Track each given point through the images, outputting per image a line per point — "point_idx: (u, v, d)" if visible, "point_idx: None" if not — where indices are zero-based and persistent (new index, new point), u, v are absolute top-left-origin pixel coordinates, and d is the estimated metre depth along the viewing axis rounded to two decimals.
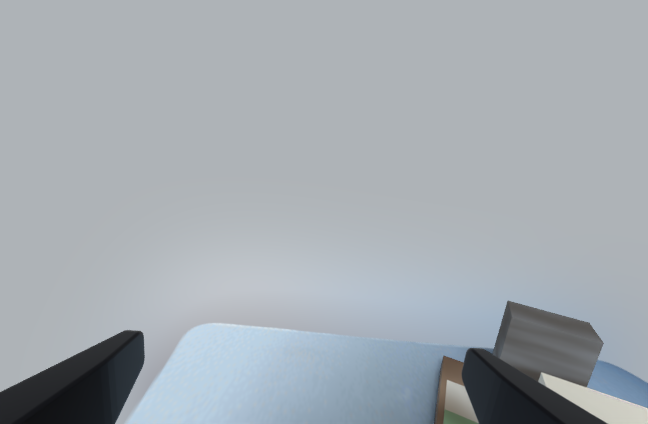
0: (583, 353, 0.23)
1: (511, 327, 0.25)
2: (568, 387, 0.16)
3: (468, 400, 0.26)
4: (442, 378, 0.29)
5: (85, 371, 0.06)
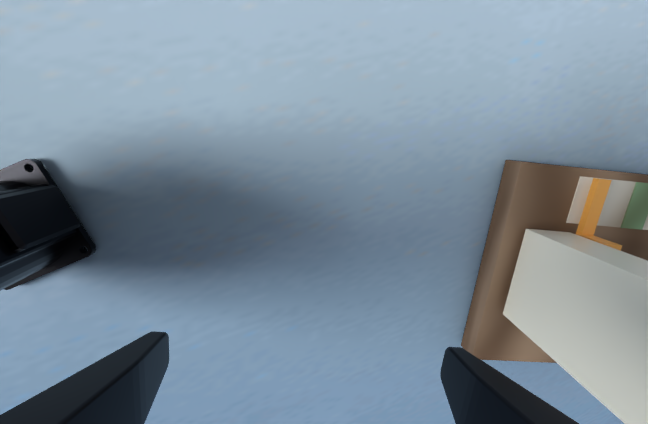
0: None
1: None
2: None
3: None
4: None
5: (119, 372, 0.06)
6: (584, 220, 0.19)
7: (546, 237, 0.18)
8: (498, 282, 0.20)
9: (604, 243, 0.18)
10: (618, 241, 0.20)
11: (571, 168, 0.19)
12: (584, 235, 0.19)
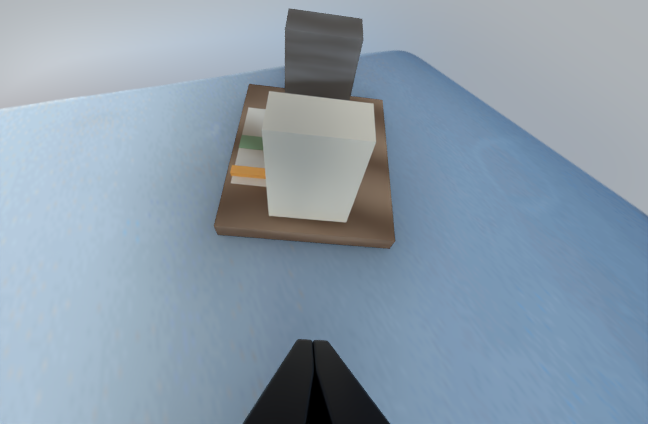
0: (348, 54, 0.25)
1: (287, 42, 0.24)
2: (287, 99, 0.17)
3: None
4: (244, 107, 0.30)
5: (306, 380, 0.06)
6: (263, 176, 0.25)
7: (268, 204, 0.22)
8: (319, 228, 0.24)
9: None
10: None
11: (223, 190, 0.25)
12: None
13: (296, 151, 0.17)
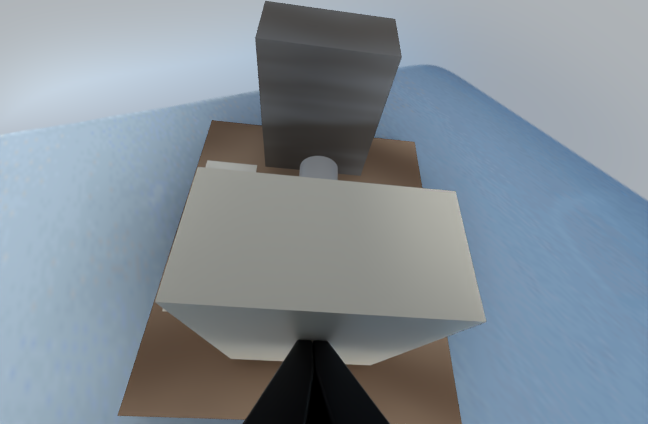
0: (372, 81, 0.14)
1: (261, 61, 0.13)
2: (242, 191, 0.07)
3: None
4: (201, 160, 0.19)
5: (306, 380, 0.06)
6: None
7: (225, 352, 0.12)
8: None
9: None
10: None
11: (147, 327, 0.14)
12: None
13: (266, 324, 0.07)
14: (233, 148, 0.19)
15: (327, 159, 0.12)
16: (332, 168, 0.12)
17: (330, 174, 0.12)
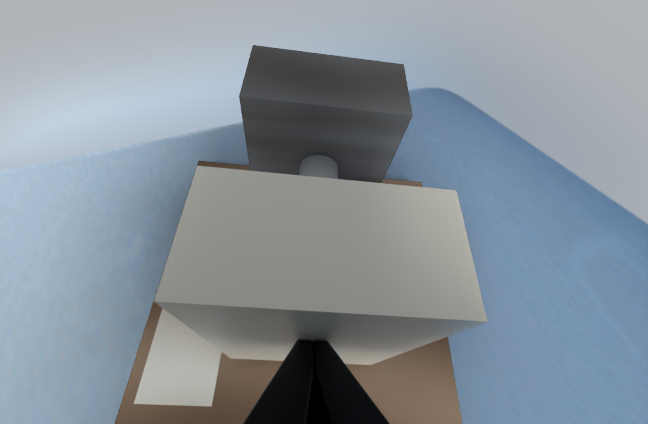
0: (378, 139, 0.12)
1: (248, 119, 0.11)
2: (242, 190, 0.07)
3: None
4: None
5: (306, 380, 0.06)
6: None
7: (225, 352, 0.12)
8: None
9: None
10: None
11: None
12: None
13: (266, 323, 0.07)
14: None
15: (327, 158, 0.12)
16: (332, 167, 0.12)
17: (330, 173, 0.12)
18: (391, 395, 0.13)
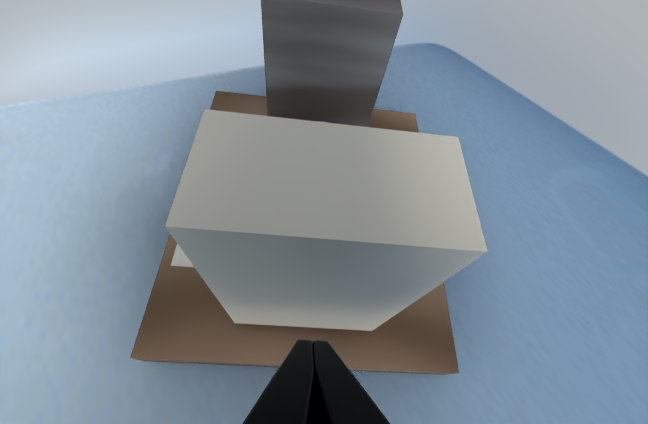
0: (374, 41, 0.14)
1: (266, 20, 0.13)
2: (249, 131, 0.07)
3: None
4: None
5: (306, 380, 0.06)
6: None
7: None
8: None
9: None
10: None
11: (157, 279, 0.14)
12: None
13: (272, 262, 0.07)
14: None
15: None
16: None
17: None
18: None
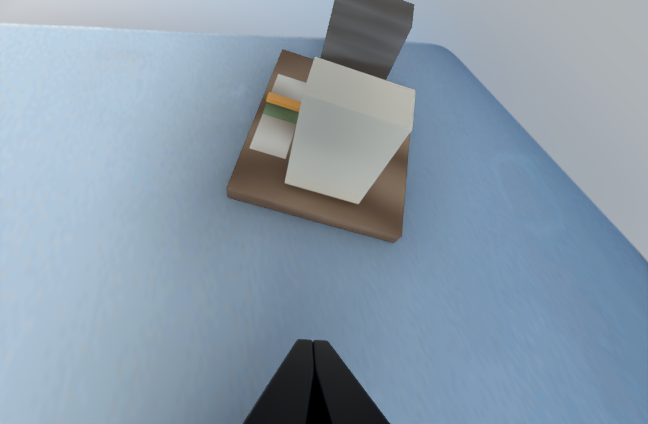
0: (393, 39, 0.24)
1: (334, 13, 0.23)
2: (331, 69, 0.17)
3: (293, 91, 0.28)
4: (274, 72, 0.29)
5: (306, 380, 0.06)
6: (295, 108, 0.27)
7: (287, 171, 0.22)
8: (330, 210, 0.24)
9: None
10: None
11: (241, 153, 0.24)
12: None
13: (330, 123, 0.17)
14: (294, 70, 0.29)
15: None
16: None
17: None
18: None
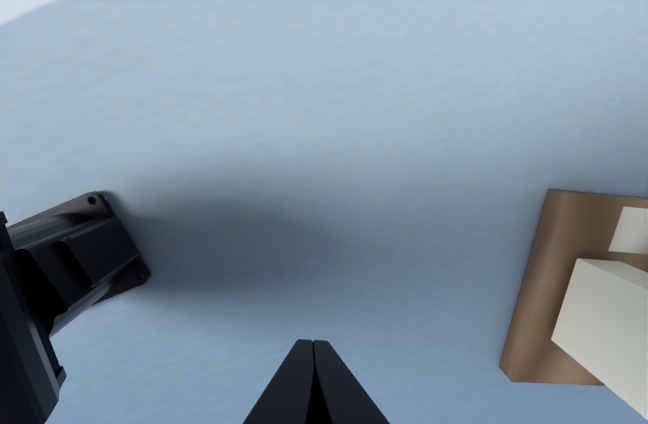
0: None
1: None
2: None
3: None
4: None
5: (306, 380, 0.06)
6: None
7: (601, 269, 0.18)
8: (540, 308, 0.21)
9: None
10: None
11: (615, 199, 0.19)
12: None
13: None
14: None
15: None
16: None
17: None
18: None
